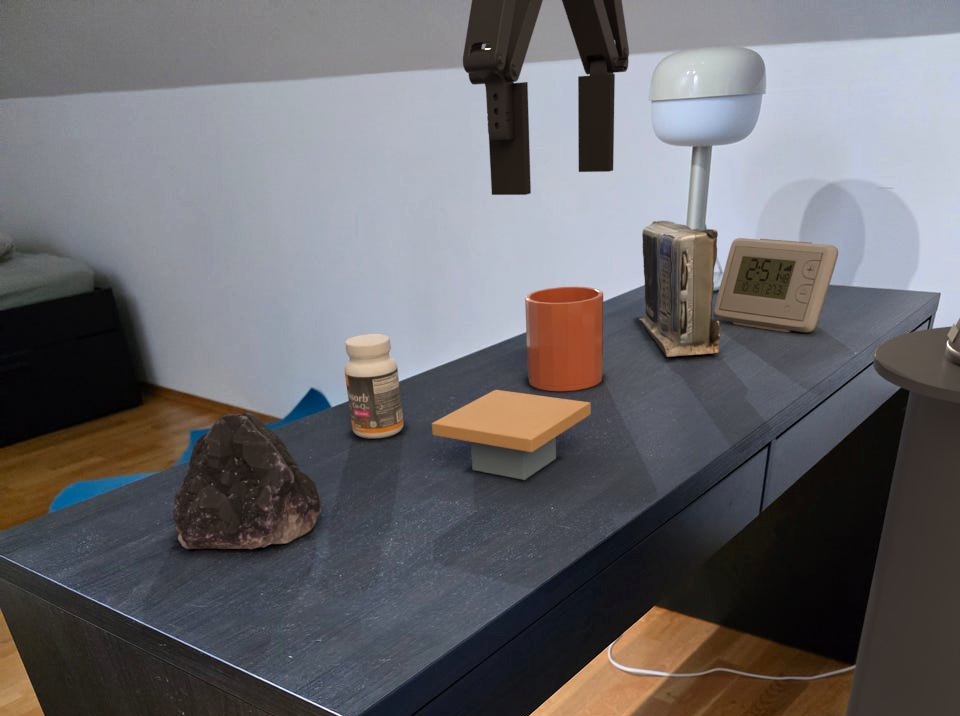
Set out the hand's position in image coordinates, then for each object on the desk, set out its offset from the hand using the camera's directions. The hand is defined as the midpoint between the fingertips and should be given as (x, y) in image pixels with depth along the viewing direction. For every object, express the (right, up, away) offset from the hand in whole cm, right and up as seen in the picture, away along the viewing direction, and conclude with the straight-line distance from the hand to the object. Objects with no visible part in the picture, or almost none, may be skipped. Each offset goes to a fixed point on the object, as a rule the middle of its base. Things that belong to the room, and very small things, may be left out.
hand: (556, 182), depth 66 cm
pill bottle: (-17, -11, +32) cm, 37 cm away
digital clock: (+35, +10, +58) cm, 68 cm away
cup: (+5, -2, +43) cm, 43 cm away
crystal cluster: (-26, -24, +13) cm, 38 cm away
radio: (+20, +7, +55) cm, 60 cm away
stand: (-2, -17, +21) cm, 27 cm away
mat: (-3, -14, +18) cm, 23 cm away
